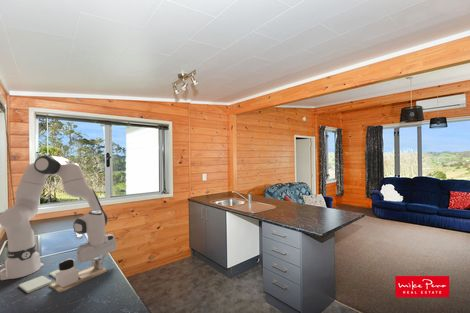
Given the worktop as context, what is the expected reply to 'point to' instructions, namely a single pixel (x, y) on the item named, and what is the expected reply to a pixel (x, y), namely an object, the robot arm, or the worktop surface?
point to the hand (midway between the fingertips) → (98, 263)
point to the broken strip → (38, 282)
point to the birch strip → (83, 275)
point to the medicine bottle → (66, 273)
